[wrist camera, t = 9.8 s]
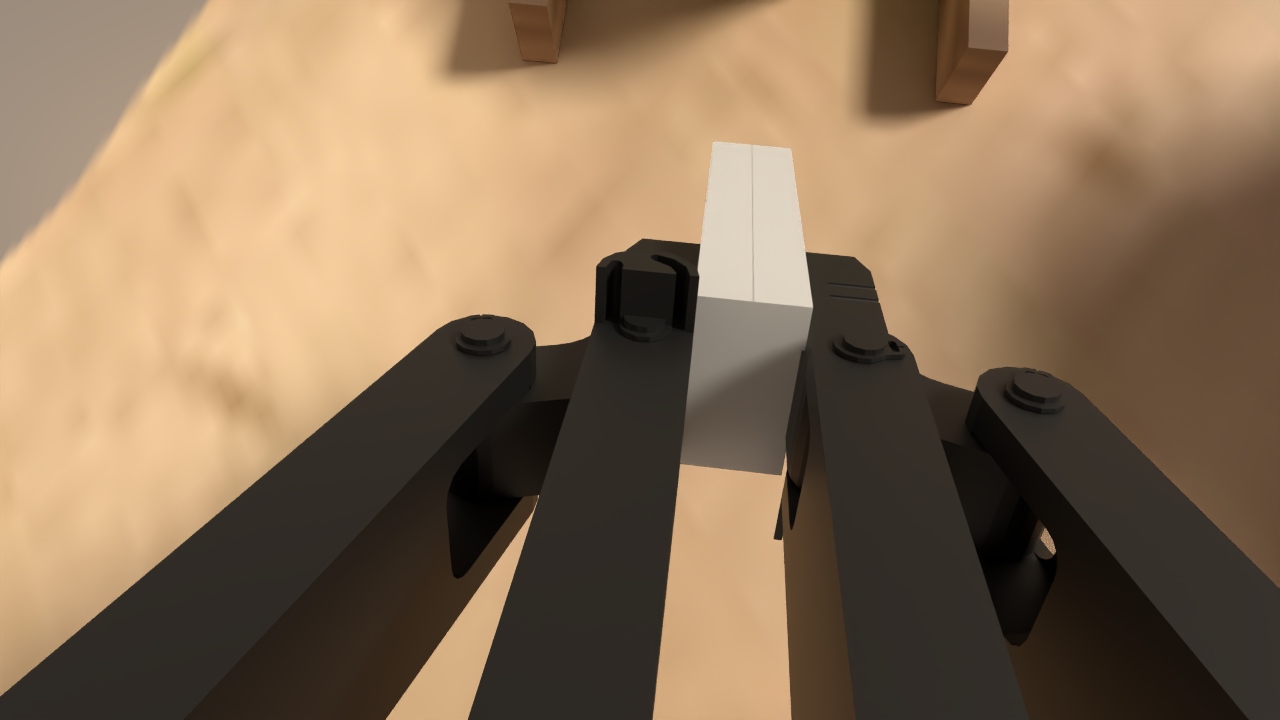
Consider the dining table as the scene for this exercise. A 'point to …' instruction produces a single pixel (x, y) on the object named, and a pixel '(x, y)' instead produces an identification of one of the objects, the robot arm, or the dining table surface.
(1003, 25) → the walnut bay
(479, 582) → the robot arm
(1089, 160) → the dining table surface
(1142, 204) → the dining table surface
